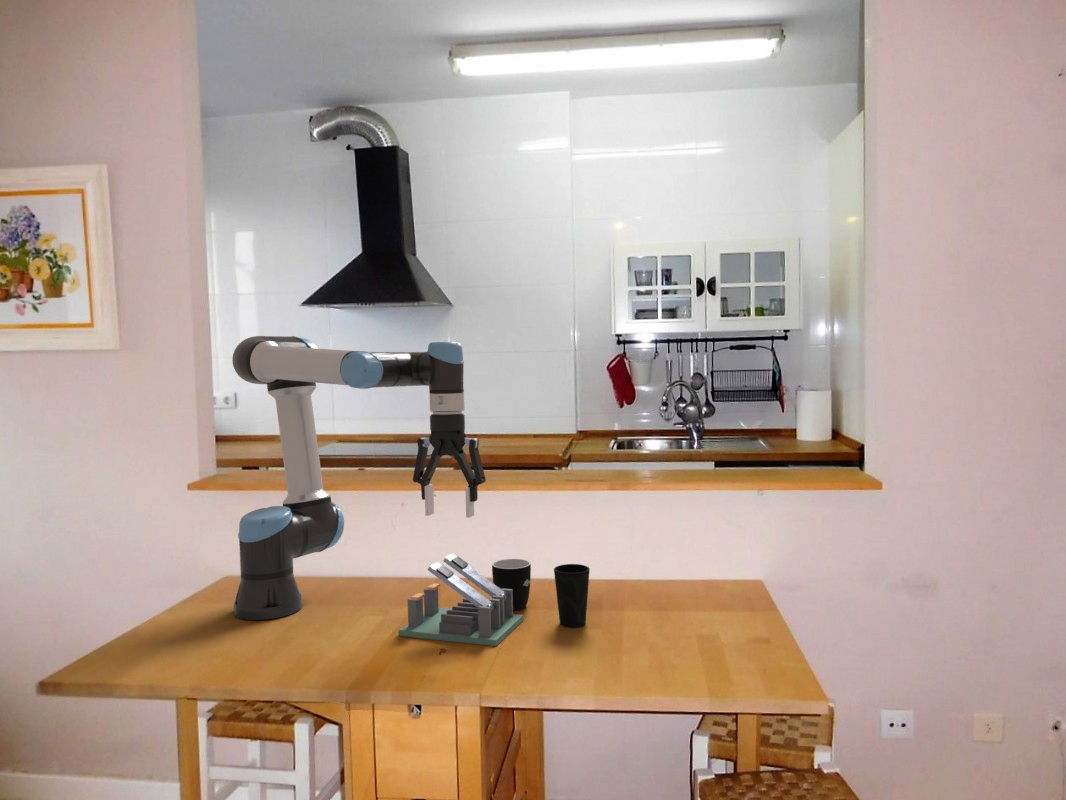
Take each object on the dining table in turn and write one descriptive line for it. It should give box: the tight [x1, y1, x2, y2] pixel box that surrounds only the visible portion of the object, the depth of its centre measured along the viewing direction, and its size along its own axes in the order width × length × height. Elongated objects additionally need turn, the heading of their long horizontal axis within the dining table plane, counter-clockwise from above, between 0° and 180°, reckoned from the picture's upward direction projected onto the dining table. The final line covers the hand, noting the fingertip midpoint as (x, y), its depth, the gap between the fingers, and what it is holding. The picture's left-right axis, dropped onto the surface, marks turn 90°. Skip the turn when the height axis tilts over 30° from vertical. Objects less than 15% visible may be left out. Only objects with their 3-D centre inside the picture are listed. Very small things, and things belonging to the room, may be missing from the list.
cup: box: [553, 563, 591, 629], centre depth 165 cm, size 8×8×12 cm
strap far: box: [443, 553, 509, 601], centre depth 166 cm, size 16×4×2 cm
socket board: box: [397, 583, 524, 647], centre depth 163 cm, size 22×16×8 cm
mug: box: [491, 558, 532, 612], centre depth 179 cm, size 12×9×10 cm
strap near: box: [427, 561, 496, 611], centre depth 159 cm, size 16×4×2 cm
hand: (449, 515), depth 167 cm, fingers open, 9 cm apart
